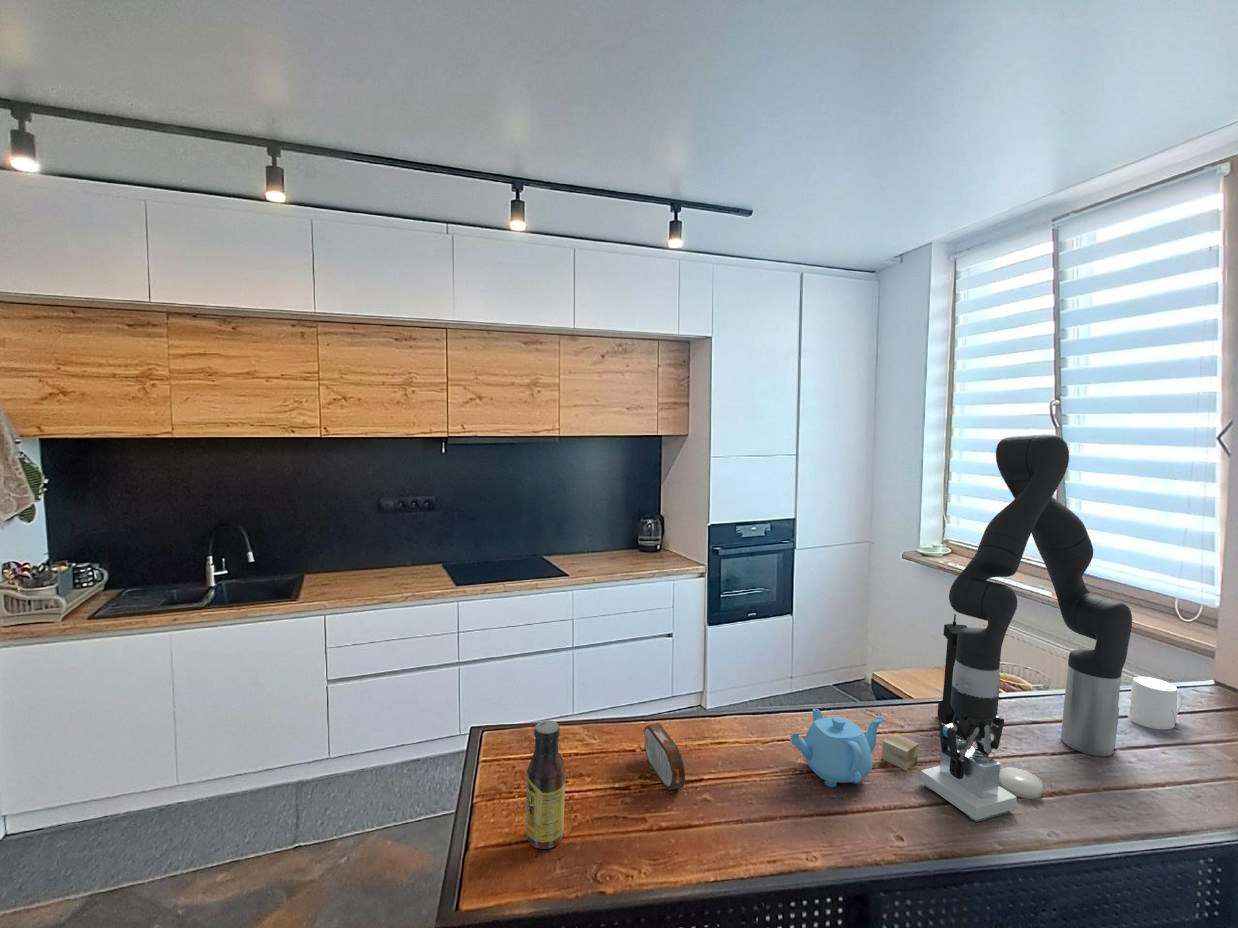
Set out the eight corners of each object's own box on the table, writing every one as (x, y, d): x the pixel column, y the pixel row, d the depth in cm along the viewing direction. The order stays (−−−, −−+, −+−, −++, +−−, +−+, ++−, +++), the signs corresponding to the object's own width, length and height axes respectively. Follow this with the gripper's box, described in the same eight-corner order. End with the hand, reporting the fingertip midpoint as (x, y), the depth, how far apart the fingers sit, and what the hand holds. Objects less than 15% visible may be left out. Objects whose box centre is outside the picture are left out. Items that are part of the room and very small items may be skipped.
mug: (1154, 691, 142) (1121, 676, 150) (1150, 730, 143) (1117, 713, 151) (1199, 689, 144) (1164, 674, 151) (1194, 728, 144) (1160, 711, 152)
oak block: (894, 751, 132) (895, 733, 131) (917, 762, 128) (918, 743, 127) (881, 758, 129) (883, 740, 128) (905, 770, 125) (906, 751, 124)
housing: (954, 767, 121) (957, 735, 120) (997, 794, 112) (1000, 760, 112) (939, 771, 119) (942, 738, 119) (981, 799, 111) (984, 764, 110)
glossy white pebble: (1015, 773, 124) (1016, 764, 124) (1050, 794, 118) (1051, 784, 117) (990, 780, 122) (991, 771, 121) (1024, 802, 115) (1025, 792, 115)
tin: (685, 797, 114) (687, 753, 114) (670, 800, 113) (671, 756, 112) (655, 753, 128) (656, 714, 128) (640, 755, 127) (642, 716, 127)
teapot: (813, 744, 133) (816, 694, 132) (880, 768, 125) (884, 714, 124) (786, 778, 121) (789, 722, 120) (858, 806, 113) (862, 747, 112)
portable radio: (976, 734, 139) (985, 626, 137) (947, 731, 140) (955, 624, 138) (964, 717, 147) (972, 615, 144) (936, 714, 148) (944, 612, 145)
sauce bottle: (527, 826, 105) (528, 714, 103) (564, 825, 106) (566, 713, 104) (524, 854, 99) (525, 735, 97) (563, 852, 99) (566, 734, 97)
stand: (957, 775, 123) (959, 760, 123) (1015, 812, 112) (1016, 796, 112) (919, 784, 120) (920, 770, 119) (975, 824, 109) (976, 808, 108)
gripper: (985, 672, 120) (978, 755, 122) (929, 683, 115) (922, 769, 116) (1022, 689, 113) (1014, 777, 115) (964, 701, 108) (957, 793, 109)
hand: (968, 773), depth 115 cm, fingers open, 5 cm apart
